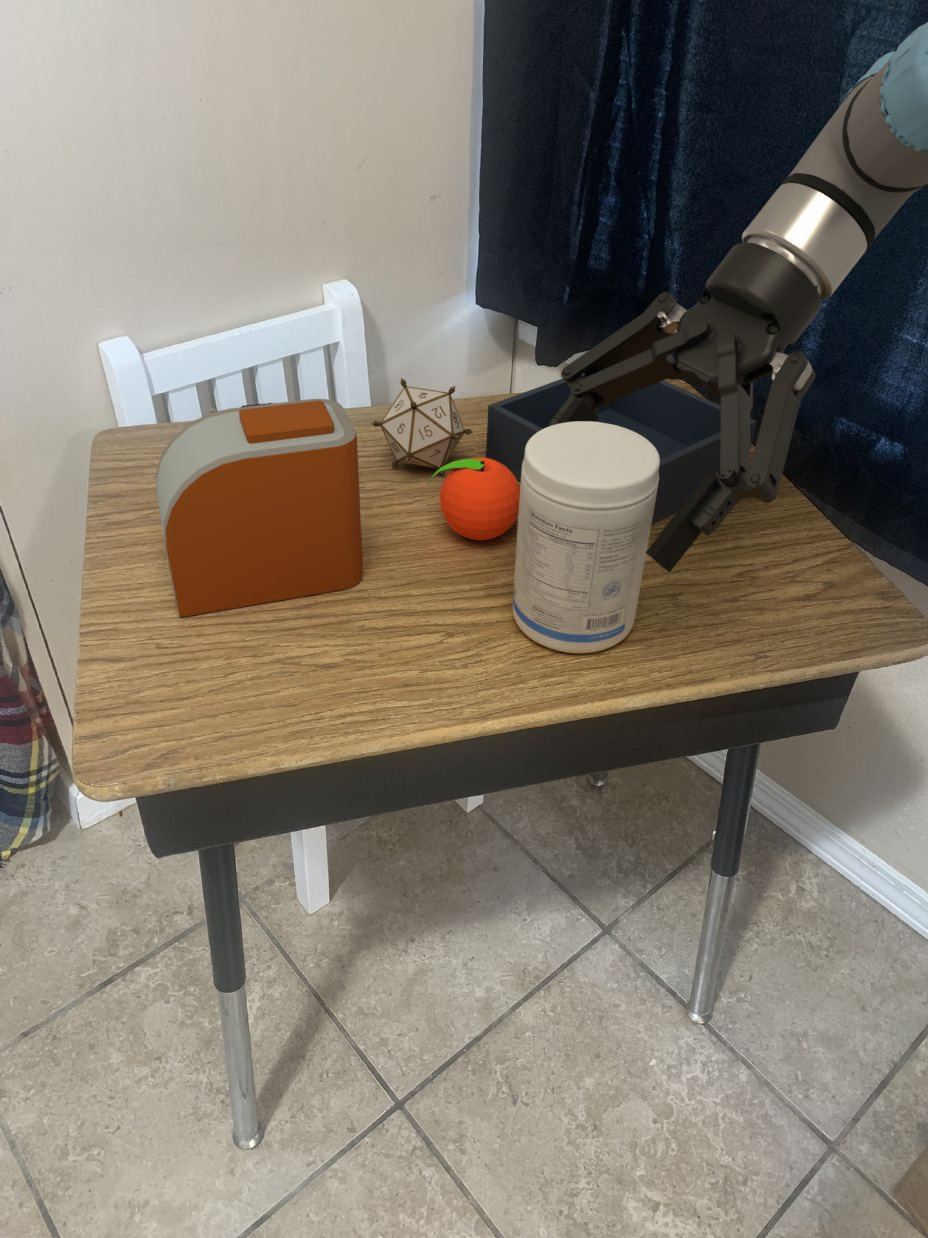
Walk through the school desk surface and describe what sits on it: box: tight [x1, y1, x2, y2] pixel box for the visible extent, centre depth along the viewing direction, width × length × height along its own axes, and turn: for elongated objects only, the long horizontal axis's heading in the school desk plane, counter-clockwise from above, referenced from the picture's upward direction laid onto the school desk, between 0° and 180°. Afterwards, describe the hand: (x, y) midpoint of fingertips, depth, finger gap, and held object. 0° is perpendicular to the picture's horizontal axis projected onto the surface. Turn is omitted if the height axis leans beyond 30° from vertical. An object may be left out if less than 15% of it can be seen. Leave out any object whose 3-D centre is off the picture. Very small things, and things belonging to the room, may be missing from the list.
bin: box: [485, 373, 758, 526], centre depth 93 cm, size 18×18×6 cm
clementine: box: [427, 457, 520, 541], centre depth 83 cm, size 8×7×7 cm
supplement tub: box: [512, 421, 660, 654], centre depth 71 cm, size 10×10×15 cm
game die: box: [370, 377, 474, 478], centre depth 92 cm, size 9×8×10 cm
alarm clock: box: [155, 398, 364, 618], centre depth 75 cm, size 15×8×14 cm, turn 108°
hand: (592, 517), depth 71 cm, fingers open, 13 cm apart
